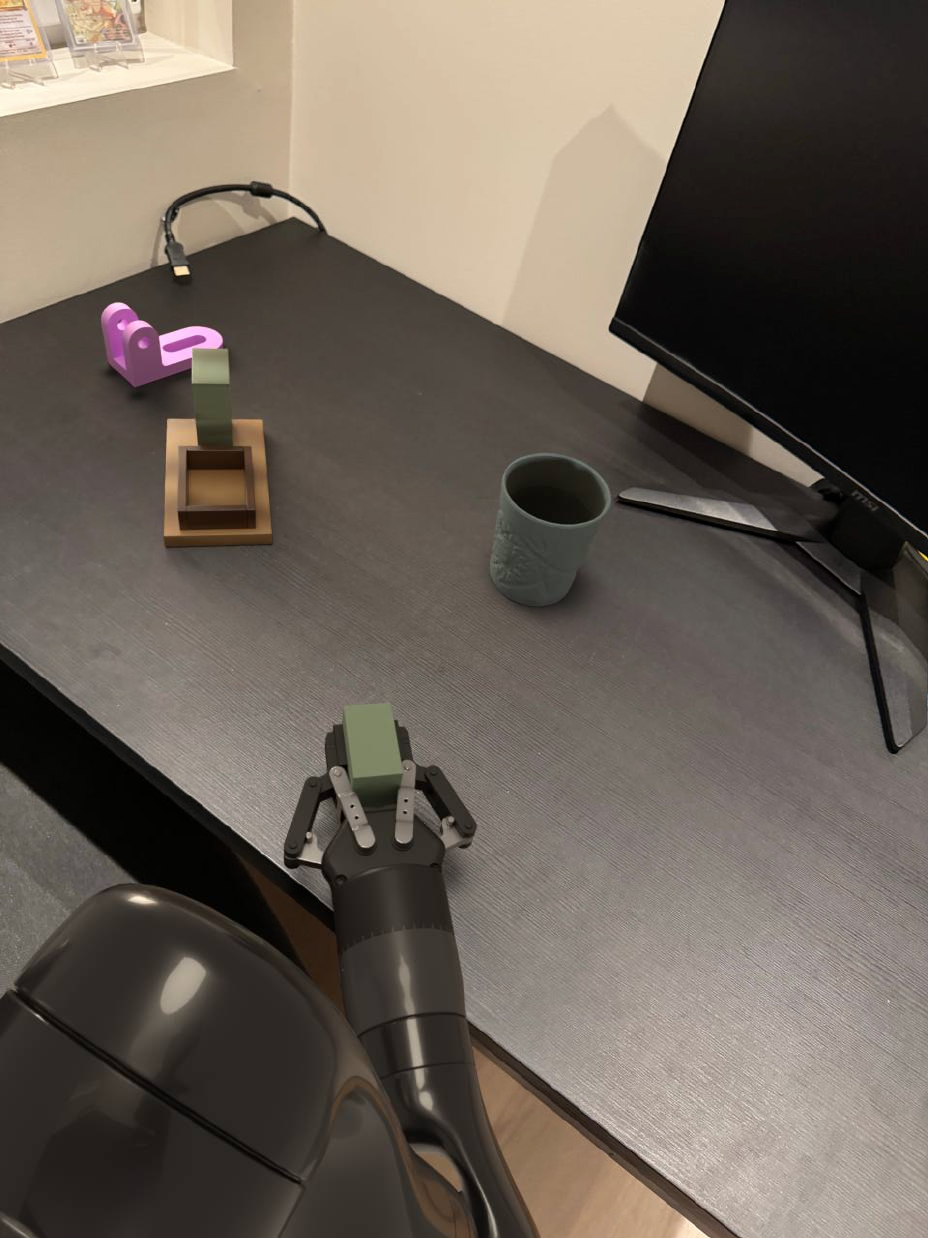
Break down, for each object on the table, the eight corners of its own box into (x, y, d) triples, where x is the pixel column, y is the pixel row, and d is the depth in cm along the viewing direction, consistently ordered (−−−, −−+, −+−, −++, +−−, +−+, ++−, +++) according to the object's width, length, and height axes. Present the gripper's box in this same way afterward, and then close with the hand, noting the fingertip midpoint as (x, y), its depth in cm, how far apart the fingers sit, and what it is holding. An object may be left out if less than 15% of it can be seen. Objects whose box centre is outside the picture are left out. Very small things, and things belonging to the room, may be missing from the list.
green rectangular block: (390, 832, 65) (403, 773, 59) (345, 837, 64) (353, 778, 58) (380, 765, 69) (390, 702, 62) (337, 769, 68) (343, 706, 61)
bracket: (134, 387, 95) (126, 331, 90) (108, 362, 97) (98, 307, 92) (232, 354, 102) (229, 300, 97) (205, 331, 104) (201, 278, 99)
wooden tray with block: (272, 544, 83) (271, 460, 75) (165, 547, 81) (152, 461, 73) (262, 430, 94) (260, 346, 86) (168, 429, 92) (157, 343, 84)
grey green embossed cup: (586, 561, 89) (620, 472, 80) (565, 627, 82) (599, 539, 73) (495, 530, 90) (519, 439, 81) (467, 594, 83) (489, 502, 74)
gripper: (516, 918, 52) (462, 692, 63) (284, 952, 49) (268, 706, 59) (494, 959, 58) (447, 745, 69) (284, 992, 54) (269, 761, 65)
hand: (364, 728), depth 64 cm, fingers closed on green rectangular block, 3 cm apart
